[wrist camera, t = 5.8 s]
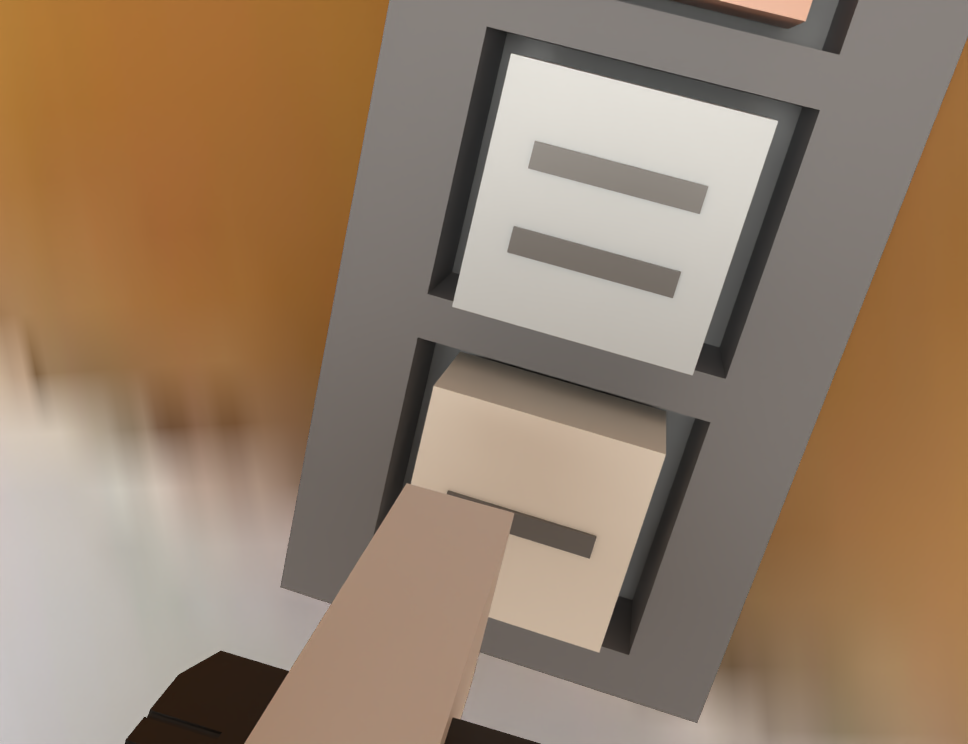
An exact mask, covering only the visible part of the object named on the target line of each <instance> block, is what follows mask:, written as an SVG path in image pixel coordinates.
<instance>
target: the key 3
mask: <svg viewBox="0 0 968 744" xmlns="http://www.w3.org/2000/svg"><path fill="white" fill-rule="evenodd" d="M671 1H675V2H679V3H683V4H687V5H691V6H695V7H700V8H704V9H708V10H712V11H716V12H720V13H724V14H728V15H732V16H737V17H741V18H745V19H749V20H753V21H757V22H761V23H765V24H770V25H774V26H778V27H782V28H786V29H789V28H792V27H794V26H796V25H798V24H801V23H803V22H805V21H806V19H807V16H808V13H809V10H810V7H811V4H812V1H813V0H671Z"/></svg>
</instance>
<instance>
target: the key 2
mask: <svg viewBox="0 0 968 744" xmlns="http://www.w3.org/2000/svg"><path fill="white" fill-rule="evenodd" d="M777 124H778V121H777V120H774V119H771V118H768V117H765V116H762V115H758V114H754V113H750V112H746V111H742V110H738V109H734V108H731V107H727V106H723V105H719V104H715V103H711V102H707V101H703V100H699V99H695V98H691V97H687V96H683V95H679V94H675V93H671V92H667V91H663V90H660V89H656V88H652V87H648V86H644V85H640V84H636V83H632V82H628V81H624V80H620V79H616V78H612V77H608V76H604V75H600V74H596V73H592V72H588V71H585V70H581V69H577V68H573V67H569V66H565V65H561V64H557V63H553V62H549V61H545V60H541V59H537V58H533V57H529V56H523V55H517V54H512V53H511V56H510V60H509V65H508V69H507V73H506V78H505V82H504V86H503V90H502V95H501V99H500V103H499V108H498V112H497V116H496V120H495V125H494V129H493V133H492V138H491V142H490V146H489V151H488V155H487V159H486V163H485V168H484V172H483V176H482V181H481V185H480V189H479V193H478V198H477V202H476V206H475V211H474V215H473V219H472V223H471V228H470V232H469V236H468V241H467V245H466V249H465V253H464V258H463V262H462V266H461V271H460V275H459V279H458V283H457V288H456V292H455V296H454V301H453V305H452V307H455V308H458V309H462V310H465V311H469V312H472V313H476V314H479V315H483V316H486V317H490V318H493V319H497V320H500V321H504V322H507V323H511V324H514V325H518V326H521V327H525V328H528V329H532V330H535V331H539V332H542V333H546V334H549V335H553V336H556V337H560V338H563V339H567V340H570V341H574V342H577V343H581V344H584V345H588V346H591V347H595V348H598V349H602V350H605V351H609V352H612V353H616V354H619V355H623V356H626V357H630V358H633V359H637V360H640V361H644V362H647V363H651V364H654V365H658V366H661V367H665V368H668V369H672V370H675V371H679V372H682V373H686V374H689V375H693V373H694V370H695V367H696V364H697V361H698V358H699V355H700V352H701V349H702V346H703V343H704V340H705V337H706V334H707V331H708V328H709V325H710V322H711V319H712V316H713V313H714V310H715V308H716V305H717V302H718V299H719V296H720V293H721V290H722V287H723V284H724V281H725V278H726V275H727V272H728V269H729V266H730V263H731V260H732V257H733V254H734V251H735V248H736V245H737V242H738V239H739V236H740V233H741V230H742V227H743V224H744V221H745V218H746V216H747V213H748V210H749V207H750V204H751V201H752V198H753V195H754V192H755V189H756V186H757V183H758V180H759V177H760V174H761V171H762V168H763V165H764V162H765V159H766V156H767V153H768V150H769V147H770V144H771V141H772V138H773V135H774V132H775V129H776V126H777Z"/></svg>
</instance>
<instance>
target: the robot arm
mask: <svg viewBox="0 0 968 744" xmlns="http://www.w3.org/2000/svg"><path fill="white" fill-rule="evenodd" d="M513 517H514V513H513V512H509V511H505V510H502V509H498V508H494V507H491V506H487V505H484V504H480V503H476V502H473V501H469V500H466V499H462V498H458V497H455V496H451V495H448V494H444V493H440V492H437V491H433V490H429V489H426V488H422V487H419V486H415V485H411V484H408V483H406V485H405V487H404V488H403V490H402V491H401V493H400V495H399V496H398V498H397V499H396V501H395V503H394V504H393V506H392V507H391V509H390V511H389V512H388V514H387V516H386V517H385V519H384V520H383V522H382V524H381V525H380V527H379V528H378V530H377V532H376V533H375V535H374V536H373V538H372V540H371V541H370V543H369V544H368V546H367V548H366V549H365V551H364V552H363V554H362V556H361V557H360V559H359V560H358V562H357V564H356V565H355V567H354V568H353V570H352V572H351V573H350V575H349V576H348V578H347V580H346V581H345V583H344V584H343V586H342V588H341V589H340V591H339V592H338V594H337V596H336V597H335V599H334V601H333V602H332V604H331V605H330V607H329V609H328V610H327V612H326V613H325V615H324V617H323V618H322V620H321V621H320V623H319V625H318V626H317V628H316V629H315V631H314V633H313V634H312V636H311V637H310V639H309V641H308V642H307V644H306V645H305V647H304V649H303V650H302V652H301V653H300V655H299V657H298V658H297V660H296V661H295V663H294V665H293V666H292V668H291V669H290V671H286V670H283V669H280V668H276V667H273V666H270V665H267V664H263V663H260V662H257V661H253V660H250V659H247V658H243V657H240V656H237V655H233V654H230V653H227V652H223V651H220V652H218V653H216V654H214V655H212V656H211V657H209V658H207V659H205V660H204V661H202V662H200V663H198V664H197V665H195V666H193V667H191V668H189V669H188V670H186V671H184V672H182V673H181V674H179V675H178V676H177V677H176V678H175V680H174V681H173V682H172V683H171V685H170V686H169V687H168V688H167V690H166V691H165V692H164V693H163V694H162V696H161V697H160V698H159V699H158V701H157V702H156V703H155V704H154V706H153V707H152V708H151V709H150V712H149V715H148V717H147V718H146V717H144V718H143V719H142V720H141V722H140V723H139V724H138V725H137V727H136V728H135V729H134V730H133V732H132V733H131V734H130V735H129V736H128V738H127V739H126V741H125V744H540V743H536V742H533V741H530V740H527V739H523V738H520V737H517V736H513V735H510V734H507V733H503V732H500V731H497V730H493V729H490V728H487V727H483V726H480V725H477V724H473V723H470V722H467V721H464V720H461V716H462V713H463V710H464V706H465V703H466V700H467V696H468V693H469V690H470V687H471V683H472V680H473V676H474V672H475V668H476V664H477V660H478V656H479V652H480V648H481V644H482V640H483V636H484V632H485V628H486V624H487V620H488V616H489V612H490V608H491V604H492V600H493V596H494V592H495V588H496V585H497V581H498V577H499V573H500V569H501V565H502V561H503V557H504V553H505V549H506V545H507V541H508V537H509V533H510V529H511V525H512V521H513Z"/></svg>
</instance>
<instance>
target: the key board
mask: <svg viewBox="0 0 968 744" xmlns="http://www.w3.org/2000/svg"><path fill="white" fill-rule="evenodd" d="M967 37H968V0H813V1H812V4H811V7H810V10H809V13H808V16H807V19H806V21H805V22H803V23H801V24H798V25H796V26H794V27H792V28H789V29H786V28H782V27H778V26H774V25H770V24H765V23H761V22H757V21H753V20H749V19H745V18H741V17H737V16H732V15H728V14H724V13H720V12H716V11H712V10H708V9H704V8H700V7H695V6H691V5H687V4H683V3H679V2H675V1H671V0H390V1H389V6H388V12H387V17H386V22H385V28H384V33H383V38H382V44H381V49H380V55H379V60H378V65H377V71H376V76H375V81H374V87H373V92H372V98H371V103H370V108H369V114H368V119H367V124H366V130H365V135H364V140H363V146H362V151H361V157H360V162H359V167H358V173H357V178H356V183H355V189H354V194H353V200H352V205H351V210H350V216H349V221H348V226H347V232H346V237H345V243H344V248H343V253H342V259H341V264H340V269H339V275H338V280H337V286H336V291H335V296H334V302H333V307H332V312H331V318H330V323H329V329H328V334H327V339H326V345H325V350H324V355H323V361H322V366H321V371H320V377H319V382H318V388H317V393H316V398H315V404H314V409H313V414H312V420H311V425H310V431H309V436H308V441H307V447H306V452H305V457H304V463H303V468H302V474H301V479H300V484H299V490H298V495H297V500H296V506H295V511H294V517H293V522H292V527H291V533H290V538H289V543H288V549H287V554H286V560H285V565H284V570H283V576H282V581H281V586H280V587H281V588H285V589H288V590H291V591H294V592H297V593H300V594H303V595H306V596H309V597H312V598H315V599H318V600H321V601H324V602H327V603H331V604H332V602H333V601H334V599H335V597H336V596H337V594H338V592H339V591H340V589H341V588H342V586H343V584H344V583H345V581H346V580H347V578H348V576H349V575H350V573H351V572H352V570H353V568H354V567H355V565H356V564H357V562H358V560H359V559H360V557H361V556H362V554H363V552H364V551H365V549H366V548H367V546H368V544H369V543H370V541H371V540H372V538H373V536H374V535H375V533H376V532H377V530H378V528H379V527H380V525H381V524H382V522H383V520H384V519H385V517H386V516H387V514H388V512H389V511H390V509H391V507H392V506H393V504H394V503H395V501H396V499H397V498H398V496H399V495H400V493H401V491H402V490H403V488H404V487H405V485H406V483H408V484H411V481H412V476H413V472H414V468H415V464H416V459H417V455H418V451H419V446H420V442H421V438H422V434H423V429H424V425H425V421H426V416H427V412H428V408H429V404H430V399H431V395H432V391H433V386H434V385H435V383H436V382H437V381H438V379H439V378H440V377H441V376H442V374H443V373H444V372H445V370H446V369H447V368H448V367H449V365H450V364H451V363H452V361H453V360H454V359H455V357H456V356H457V355H458V354H459V352H464V353H467V354H471V355H474V356H477V357H481V358H484V359H488V360H491V361H495V362H498V363H502V364H505V365H508V366H512V367H515V368H519V369H522V370H526V371H529V372H532V373H536V374H539V375H543V376H546V377H550V378H553V379H557V380H560V381H563V382H567V383H570V384H574V385H577V386H581V387H584V388H587V389H591V390H594V391H598V392H601V393H605V394H608V395H612V396H615V397H618V398H622V399H625V400H629V401H632V402H636V403H639V404H642V405H646V406H649V407H653V408H656V409H660V410H663V411H666V456H665V459H664V462H663V465H662V468H661V471H660V474H659V477H658V480H657V483H656V486H655V489H654V491H653V494H652V497H651V500H650V503H649V506H648V509H647V512H646V515H645V518H644V521H643V524H642V527H641V530H640V533H639V536H638V539H637V542H636V545H635V548H634V551H633V554H632V557H631V560H630V563H629V566H628V569H627V572H626V575H625V578H624V581H623V583H622V586H621V589H620V592H619V595H618V598H617V601H616V604H615V607H614V610H613V613H612V616H611V619H610V622H609V625H608V628H607V631H606V634H605V637H604V640H603V643H602V646H601V649H600V652H595V651H592V650H589V649H586V648H583V647H580V646H577V645H574V644H571V643H567V642H564V641H561V640H558V639H555V638H552V637H549V636H546V635H543V634H539V633H536V632H533V631H530V630H527V629H524V628H521V627H518V626H515V625H511V624H508V623H505V622H502V621H499V620H496V619H493V618H490V617H488V620H487V624H486V628H485V632H484V636H483V640H482V644H481V648H480V652H481V653H484V654H487V655H490V656H493V657H496V658H499V659H502V660H505V661H508V662H511V663H515V664H518V665H521V666H524V667H527V668H530V669H533V670H536V671H539V672H542V673H545V674H548V675H551V676H554V677H557V678H561V679H564V680H567V681H570V682H573V683H576V684H579V685H582V686H585V687H588V688H591V689H594V690H597V691H600V692H603V693H607V694H610V695H613V696H616V697H619V698H622V699H625V700H628V701H631V702H634V703H637V704H640V705H643V706H646V707H649V708H653V709H656V710H659V711H662V712H665V713H668V714H671V715H674V716H677V717H680V718H683V719H686V720H689V721H692V722H695V723H697V722H698V720H699V717H700V715H701V712H702V709H703V707H704V704H705V702H706V699H707V697H708V694H709V692H710V689H711V687H712V684H713V682H714V679H715V677H716V674H717V671H718V669H719V666H720V664H721V661H722V659H723V656H724V654H725V651H726V649H727V646H728V644H729V641H730V638H731V636H732V633H733V631H734V628H735V626H736V623H737V621H738V618H739V616H740V613H741V611H742V608H743V605H744V603H745V600H746V598H747V595H748V593H749V590H750V588H751V585H752V583H753V580H754V578H755V575H756V573H757V570H758V567H759V565H760V562H761V560H762V557H763V555H764V552H765V550H766V547H767V545H768V542H769V540H770V537H771V534H772V532H773V529H774V527H775V524H776V522H777V519H778V517H779V514H780V512H781V509H782V507H783V504H784V502H785V499H786V496H787V494H788V491H789V489H790V486H791V484H792V481H793V479H794V476H795V474H796V471H797V469H798V466H799V463H800V461H801V458H802V456H803V453H804V451H805V448H806V446H807V443H808V441H809V438H810V436H811V433H812V430H813V428H814V425H815V423H816V420H817V418H818V415H819V413H820V410H821V408H822V405H823V403H824V400H825V398H826V395H827V392H828V390H829V387H830V385H831V382H832V380H833V377H834V375H835V372H836V370H837V367H838V365H839V362H840V359H841V357H842V354H843V352H844V349H845V347H846V344H847V342H848V339H849V337H850V334H851V332H852V329H853V326H854V324H855V321H856V319H857V316H858V314H859V311H860V309H861V306H862V304H863V301H864V299H865V296H866V294H867V291H868V288H869V286H870V283H871V281H872V278H873V276H874V273H875V271H876V268H877V266H878V263H879V261H880V258H881V255H882V253H883V250H884V248H885V245H886V243H887V240H888V238H889V235H890V233H891V230H892V228H893V225H894V222H895V220H896V217H897V215H898V212H899V210H900V207H901V205H902V202H903V200H904V197H905V195H906V192H907V190H908V187H909V184H910V182H911V179H912V177H913V174H914V172H915V169H916V167H917V164H918V162H919V159H920V157H921V154H922V151H923V149H924V146H925V144H926V141H927V139H928V136H929V134H930V131H931V129H932V126H933V124H934V121H935V119H936V116H937V113H938V111H939V108H940V106H941V103H942V101H943V98H944V96H945V93H946V91H947V88H948V86H949V83H950V80H951V78H952V75H953V73H954V70H955V68H956V65H957V63H958V60H959V58H960V55H961V53H962V50H963V47H964V45H965V42H966V40H967ZM511 53H512V54H517V55H523V56H529V57H533V58H537V59H541V60H545V61H549V62H553V63H557V64H561V65H565V66H569V67H573V68H577V69H581V70H585V71H588V72H592V73H596V74H600V75H604V76H608V77H612V78H616V79H620V80H624V81H628V82H632V83H636V84H640V85H644V86H648V87H652V88H656V89H660V90H663V91H667V92H671V93H675V94H679V95H683V96H687V97H691V98H695V99H699V100H703V101H707V102H711V103H715V104H719V105H723V106H727V107H731V108H734V109H738V110H742V111H746V112H750V113H754V114H758V115H762V116H765V117H768V118H771V119H774V120H777V121H778V124H777V126H776V129H775V132H774V135H773V138H772V141H771V144H770V147H769V150H768V153H767V156H766V159H765V162H764V165H763V168H762V171H761V174H760V177H759V180H758V183H757V186H756V189H755V192H754V195H753V198H752V201H751V204H750V207H749V210H748V213H747V216H746V218H745V221H744V224H743V227H742V230H741V233H740V236H739V239H738V242H737V245H736V248H735V251H734V254H733V257H732V260H731V263H730V266H729V269H728V272H727V275H726V278H725V281H724V284H723V287H722V290H721V293H720V296H719V299H718V302H717V305H716V308H715V310H714V313H713V316H712V319H711V322H710V325H709V328H708V331H707V334H706V337H705V340H704V343H703V346H702V349H701V352H700V355H699V358H698V361H697V364H696V367H695V370H694V373H693V375H689V374H686V373H682V372H679V371H675V370H672V369H668V368H665V367H661V366H658V365H654V364H651V363H647V362H644V361H640V360H637V359H633V358H630V357H626V356H623V355H619V354H616V353H612V352H609V351H605V350H602V349H598V348H595V347H591V346H588V345H584V344H581V343H577V342H574V341H570V340H567V339H563V338H560V337H556V336H553V335H549V334H546V333H542V332H539V331H535V330H532V329H528V328H525V327H521V326H518V325H514V324H511V323H507V322H504V321H500V320H497V319H493V318H490V317H486V316H483V315H479V314H476V313H472V312H469V311H465V310H462V309H458V308H455V307H452V305H453V301H454V296H455V292H456V288H457V283H458V279H459V275H460V271H461V266H462V262H463V258H464V253H465V249H466V245H467V241H468V236H469V232H470V228H471V223H472V219H473V215H474V211H475V206H476V202H477V198H478V193H479V189H480V185H481V181H482V176H483V172H484V168H485V163H486V159H487V155H488V151H489V146H490V142H491V138H492V133H493V129H494V125H495V120H496V116H497V112H498V108H499V103H500V99H501V95H502V90H503V86H504V82H505V78H506V73H507V69H508V65H509V60H510V56H511Z"/></svg>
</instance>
